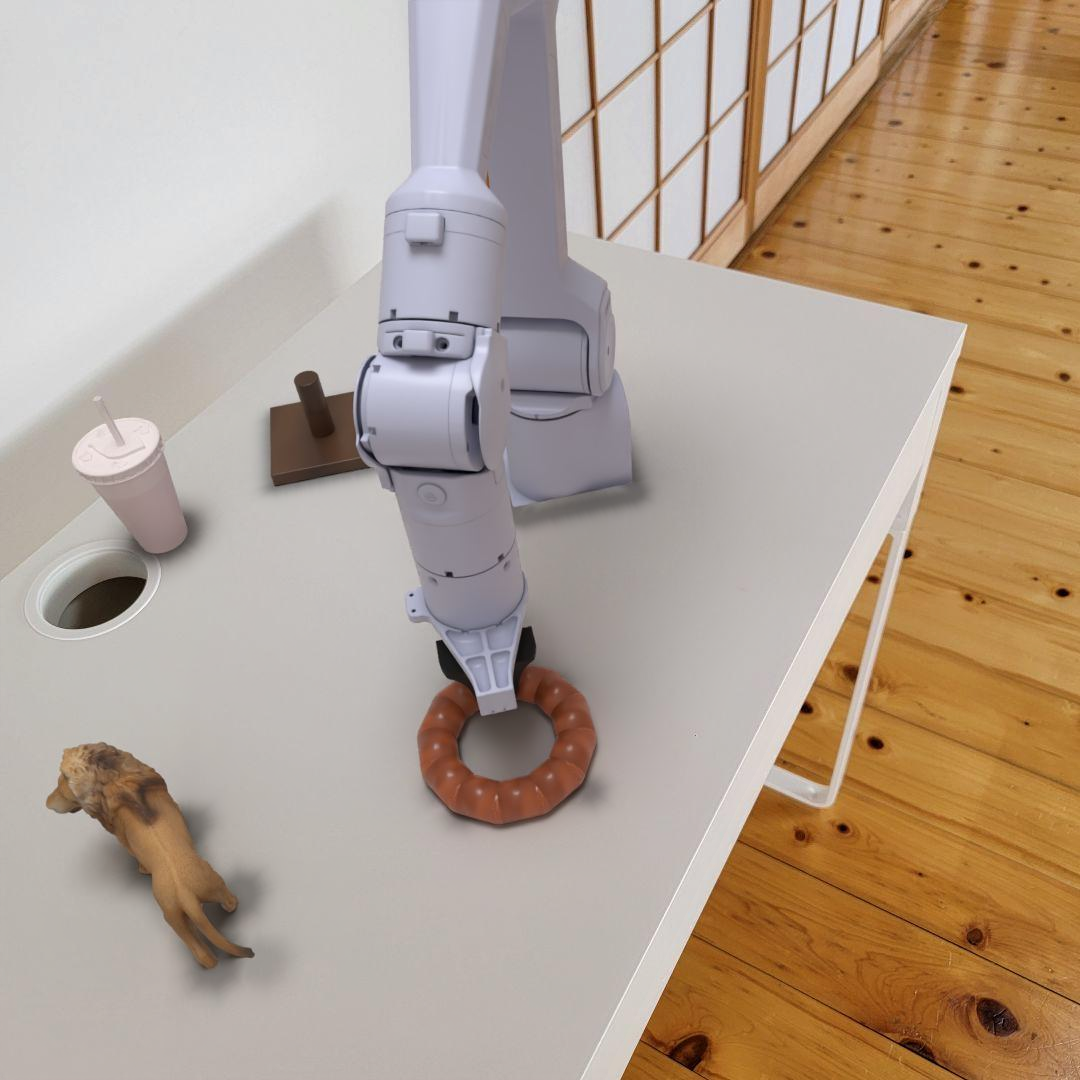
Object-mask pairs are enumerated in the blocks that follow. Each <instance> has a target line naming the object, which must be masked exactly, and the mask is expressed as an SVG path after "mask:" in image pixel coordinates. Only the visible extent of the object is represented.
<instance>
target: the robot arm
mask: <svg viewBox="0 0 1080 1080" xmlns="http://www.w3.org/2000/svg"><path fill="white" fill-rule="evenodd" d="M559 2H560V0H407V15H408V16H407V17H408V24H407V25H408V63H409V65H408V67H409V109H410V110H409V114H410V115H409V117H410V162H411V165H410V167H411V169H410V171H411V172H410V173H409V175H408V177H407V178H406V179H404V181H403V182H402V183H400V185H399V186H398V187H397V188H396V189H395V190H394V191H393V192H392V193H391V194H390V195H389V196H388V198H387V199H386V201H385V203H384V204H385V205H384V207H385V208H384V221H383V237H382V240H383V241H382V254H381V255H382V257H381V274H380V276H381V277H380V291H379V306H378V320H377V321H378V325H377V336H376V346H377V348H378V349H377V354H370V355H368V356H367V357H366V358H365V359H364V360H363V362H362V363H361V366H360V367H359V369H358V372H357V376H356V380H355V384H354V390H353V391H354V401H353V415H354V425H355V431H356V447H357V450H358V452H359V455H360V457H361V458H362V460H363V461H364V463H365V464H367V465H368V466H369V467H368V468H373V469H374V470H375V471H376V474H377V475H378V479H379V482H380V485H381V489H383V490H384V489H385V490H388V491H389V492H391V493H394V495H395V498H396V500H397V505H398V508H399V512H400V515H401V519H402V523H403V526H404V530H405V533H406V536H407V541H408V544H409V547H410V550H411V554H412V557H413V561H414V565H415V568H416V569H415V570H416V573H417V576H418V579H419V583H420V586H419V587H416V588H412V589H410V590H408V591H406V593H405V595H404V603H405V609H406V614H407V617H408V620H409V621H410V622H411V623H413V624H421V623H429V624H430V625H431V626H432V627H433V629H434V631H435V632H436V633H437V634H438V636H439V638H440V639H438V640H436V641H435V646H436V652H437V659H438V664H439V667H440V670H441V672H442V674H443V675H444V677H445V678H446V679H447V680H451V681H453V682H454V681H457V682H460V683H462V684H464V685H465V686H466V687H467V688H468V689H469V690H470V691H471V693H472V694H473V695H474V697H475V698H476V699H477V702H478V706H479V710H478V711H479V713H480V716H482V717H484V716H489V715H495V714H499V713H504V712H506V711H512V710H516V709H517V708H518V703H517V700H516V696H517V692H518V687H519V682H520V677H521V674H522V672H523V670H524V669H525V668H526V667H527V666H528V665H529V664H532V663H533V662H534V661H535V659H536V654H537V643H536V639H535V635H534V630H533V627H532V625H528V626H525V627H523V626H524V621H525V616H526V612H527V608H528V603H529V595H530V594H529V593H530V592H529V584H528V579H527V576H526V573H525V572H524V570H523V569H522V563H521V558H520V551H519V544H518V538H517V534H516V533H517V531H516V527H515V521H514V515H513V509H512V508H518V507H522V506H527V505H532V504H537V503H541V502H546V501H550V500H556V499H561V498H566V497H571V496H575V495H580V494H585V493H590V492H595V491H600V490H606V489H609V488H615V487H621V486H624V485H625V486H626V485H630V484H633V483H634V481H633V459H632V457H633V455H632V453H633V452H632V430H631V428H632V427H631V417H630V411H629V405H628V400H627V395H626V391H625V387H624V384H623V380H622V379H621V375H620V374H619V371H618V370H617V369H616V368H615V361H616V346H617V345H616V344H617V343H616V342H617V341H616V337H617V334H616V321H615V320H616V319H615V315H614V313H613V307H612V293H611V290H610V289H609V288H608V287H609V286H608V281H607V280H605V279H604V278H603V277H602V276H600V275H599V274H597V273H596V272H593V271H592V270H590V269H589V268H587V267H586V266H584V265H582V264H581V263H579V262H578V261H577V260H575V259H573V258H572V257H570V256H569V250H568V249H569V248H568V230H567V229H568V227H567V214H566V210H567V209H566V196H565V195H566V193H565V176H564V175H565V174H564V158H563V157H564V155H563V139H562V119H561V118H562V117H561V100H560V83H559V79H560V78H559V65H558V64H559V63H558V46H557V45H558V44H557V29H556V28H557V14H558V9H559ZM487 176H488V177H487ZM487 178H488V184H487ZM488 185H489V186H488Z"/></svg>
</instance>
